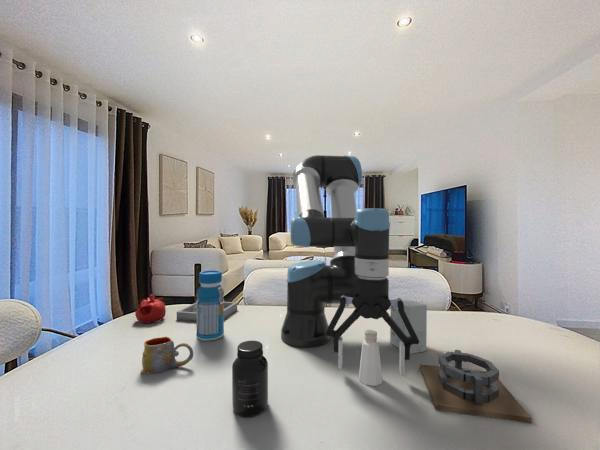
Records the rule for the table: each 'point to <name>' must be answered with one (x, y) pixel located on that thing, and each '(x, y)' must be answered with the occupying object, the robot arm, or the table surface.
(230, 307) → the parts tray
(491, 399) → the collar frame
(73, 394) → the table surface
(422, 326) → the small box
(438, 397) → the collar base
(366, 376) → the pepper shaker
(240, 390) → the supplement bottle
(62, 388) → the table surface
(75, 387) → the table surface
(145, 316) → the pomegranate
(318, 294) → the robot arm
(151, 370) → the mug
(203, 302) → the beverage bottle
